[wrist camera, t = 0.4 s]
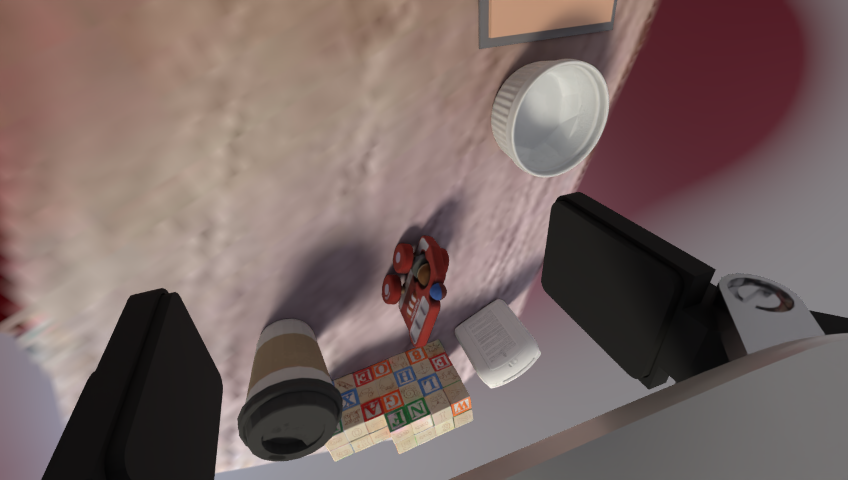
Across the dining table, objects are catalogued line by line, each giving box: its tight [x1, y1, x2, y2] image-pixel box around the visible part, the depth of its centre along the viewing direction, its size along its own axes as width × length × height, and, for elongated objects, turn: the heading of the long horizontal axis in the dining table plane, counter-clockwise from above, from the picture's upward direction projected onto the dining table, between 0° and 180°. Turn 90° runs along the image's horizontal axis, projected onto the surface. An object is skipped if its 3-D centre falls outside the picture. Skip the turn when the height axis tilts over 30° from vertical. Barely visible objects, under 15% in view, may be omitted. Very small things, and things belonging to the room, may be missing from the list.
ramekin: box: [491, 59, 609, 178], centre depth 46 cm, size 13×13×7 cm
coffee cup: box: [237, 319, 343, 461], centre depth 47 cm, size 11×11×15 cm
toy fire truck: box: [382, 235, 449, 347], centre depth 51 cm, size 7×12×10 cm, turn 160°
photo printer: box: [455, 299, 541, 388], centre depth 61 cm, size 10×4×12 cm, turn 120°
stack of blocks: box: [325, 339, 473, 462], centre depth 59 cm, size 21×6×12 cm, turn 99°
